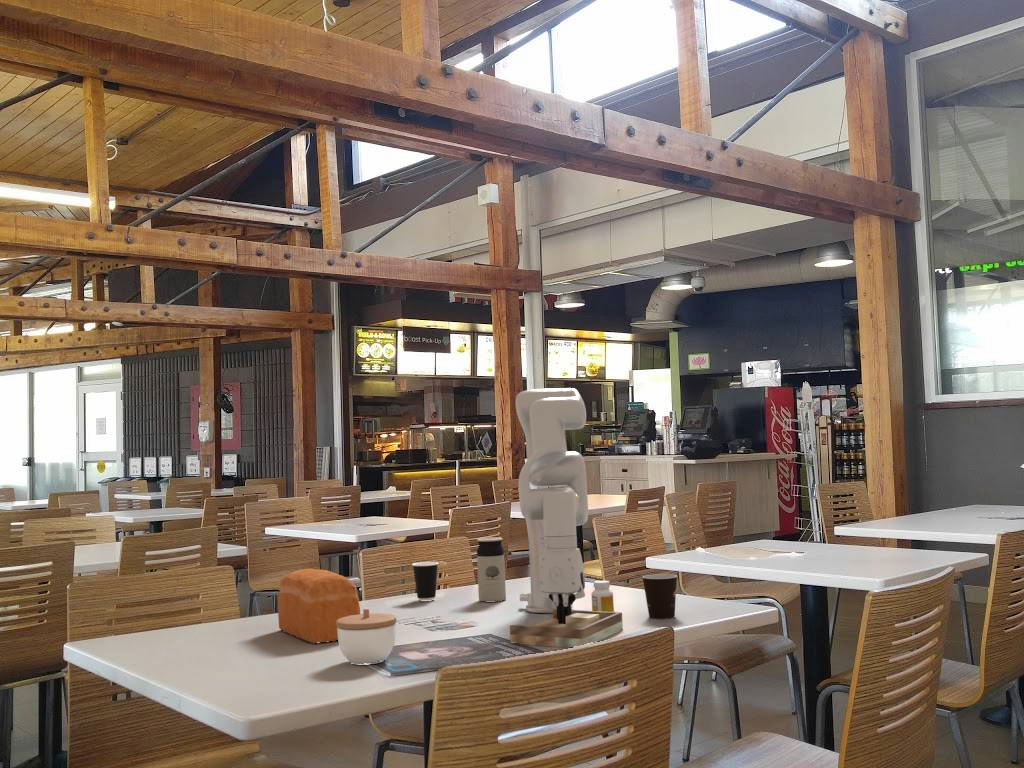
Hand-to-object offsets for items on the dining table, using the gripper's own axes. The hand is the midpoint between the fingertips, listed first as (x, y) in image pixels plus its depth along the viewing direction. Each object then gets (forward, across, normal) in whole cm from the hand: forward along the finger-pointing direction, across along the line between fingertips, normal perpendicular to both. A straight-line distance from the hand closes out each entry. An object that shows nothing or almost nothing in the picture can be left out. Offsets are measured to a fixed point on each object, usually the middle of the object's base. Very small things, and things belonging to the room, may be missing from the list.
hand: (564, 623), depth 215 cm
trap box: (+3, +1, 0) cm, 3 cm away
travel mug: (+3, -45, +41) cm, 61 cm away
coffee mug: (+3, +12, +31) cm, 34 cm away
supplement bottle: (+3, +1, +20) cm, 20 cm away
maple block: (+1, +5, 0) cm, 5 cm away
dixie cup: (+3, -64, +36) cm, 74 cm away
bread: (+3, -61, -16) cm, 63 cm away
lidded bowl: (+3, -28, -37) cm, 47 cm away
